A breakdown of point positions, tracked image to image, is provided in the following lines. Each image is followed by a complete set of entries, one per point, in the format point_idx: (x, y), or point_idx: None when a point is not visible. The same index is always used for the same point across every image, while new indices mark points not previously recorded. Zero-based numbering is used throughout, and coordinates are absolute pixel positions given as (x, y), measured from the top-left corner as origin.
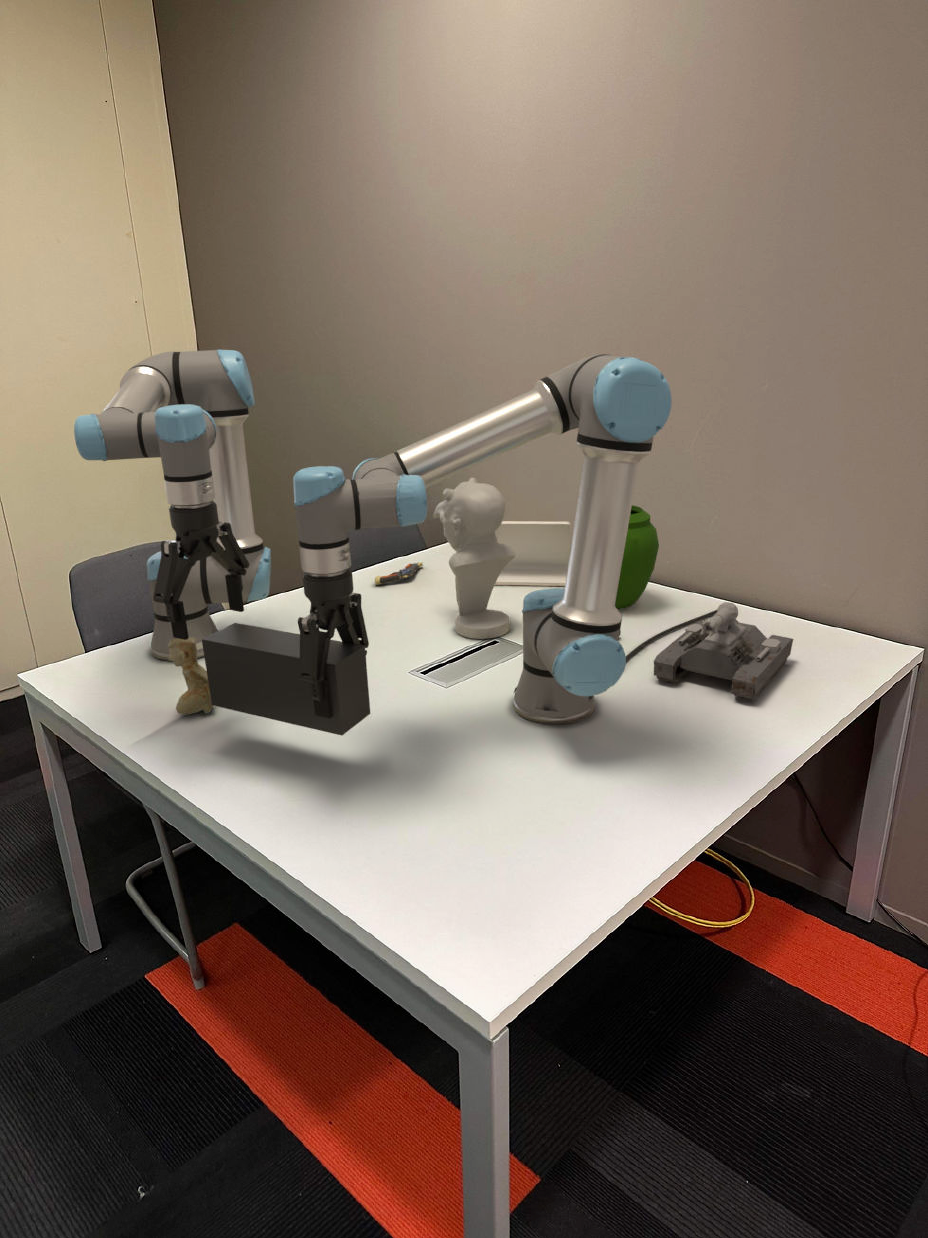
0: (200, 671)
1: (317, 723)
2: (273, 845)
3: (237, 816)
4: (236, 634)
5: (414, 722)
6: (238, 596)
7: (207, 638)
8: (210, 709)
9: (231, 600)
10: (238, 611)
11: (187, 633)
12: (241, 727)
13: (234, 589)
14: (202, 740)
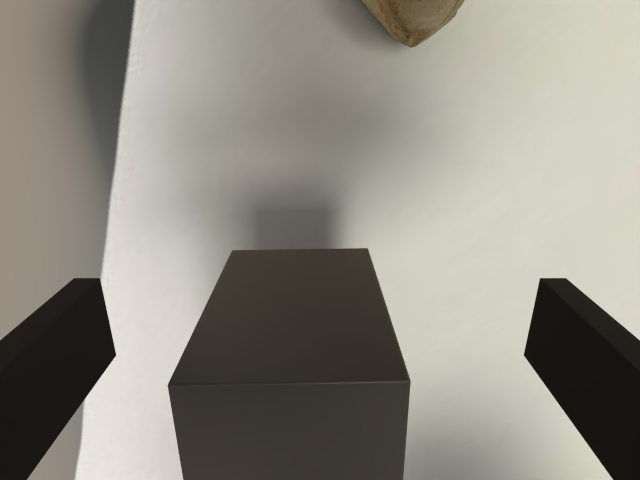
0: (426, 8)
1: None
2: (98, 455)
3: (116, 375)
4: (289, 472)
5: (503, 441)
6: (576, 422)
7: (188, 402)
8: (398, 41)
9: (570, 337)
10: (527, 338)
11: (98, 374)
12: (367, 169)
13: (616, 438)
14: (278, 129)
